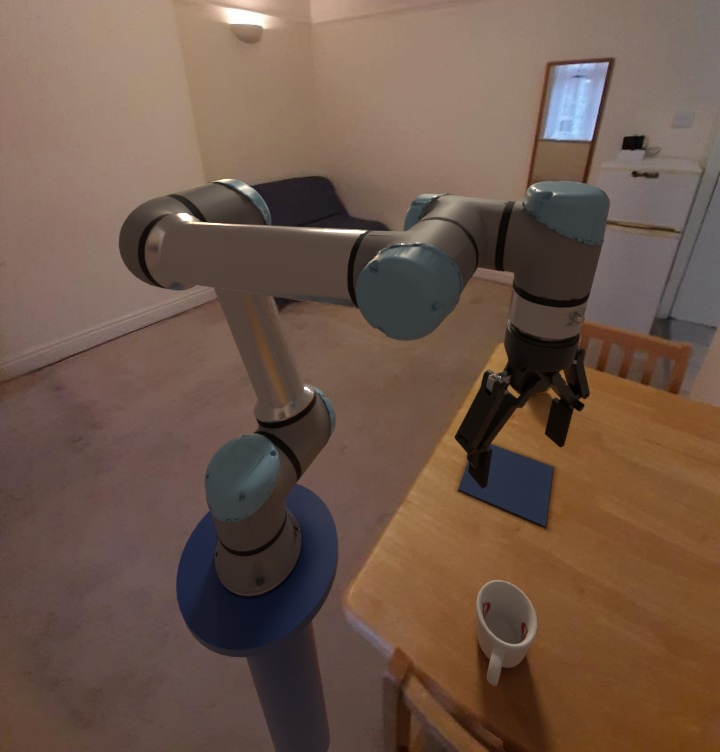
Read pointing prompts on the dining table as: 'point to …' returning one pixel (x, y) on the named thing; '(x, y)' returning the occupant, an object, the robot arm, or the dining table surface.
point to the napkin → (514, 485)
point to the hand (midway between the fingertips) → (517, 458)
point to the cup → (504, 625)
